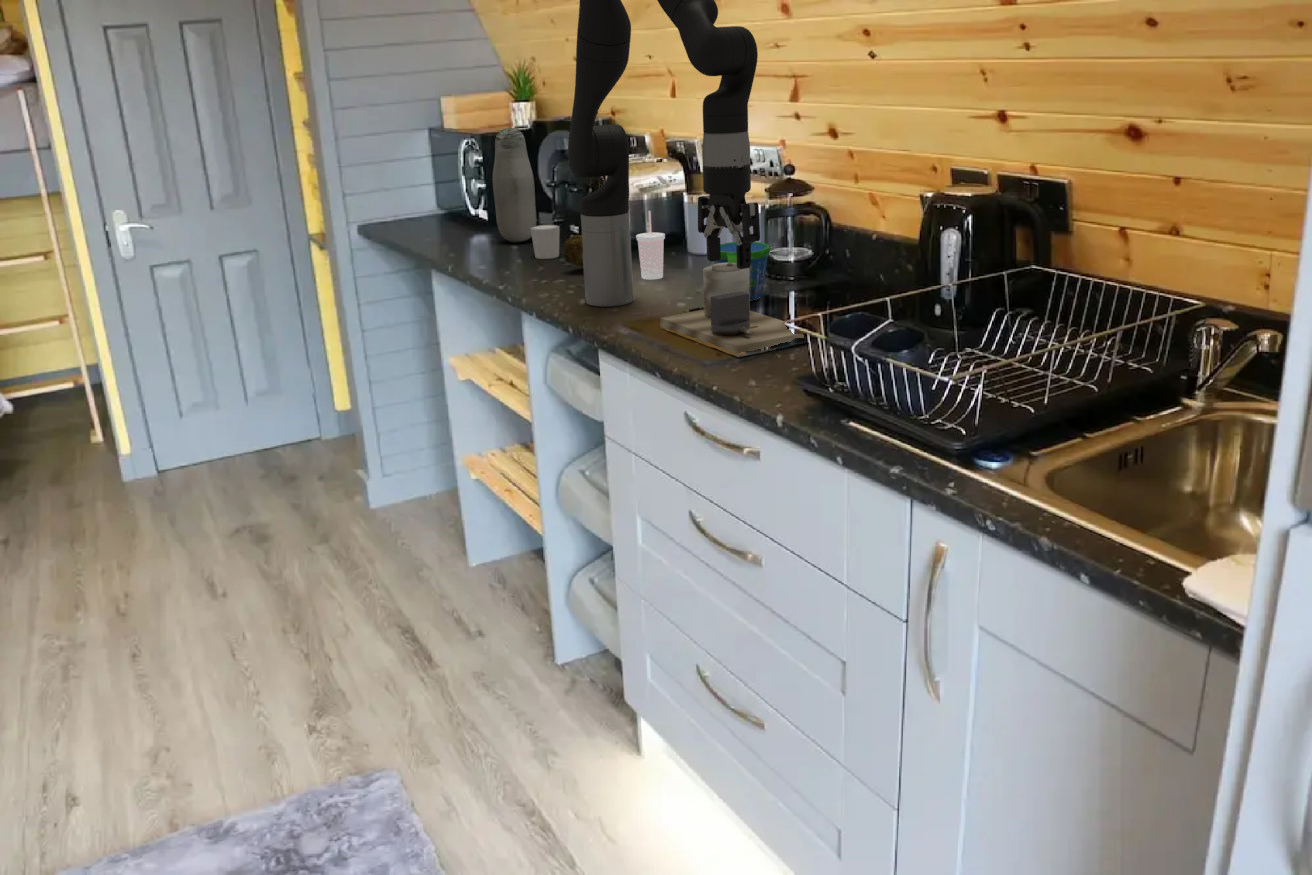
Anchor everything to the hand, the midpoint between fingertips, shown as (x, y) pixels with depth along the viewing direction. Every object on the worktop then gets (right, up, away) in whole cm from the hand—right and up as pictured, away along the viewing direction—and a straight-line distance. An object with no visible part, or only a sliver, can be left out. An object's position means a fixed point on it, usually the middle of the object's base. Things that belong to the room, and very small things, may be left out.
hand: (728, 264), depth 180 cm
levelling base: (+2, -11, +10) cm, 14 cm away
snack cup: (+5, -2, +35) cm, 35 cm away
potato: (-26, +9, +67) cm, 72 cm away
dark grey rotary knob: (+1, -11, +3) cm, 11 cm away
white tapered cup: (-38, +15, +83) cm, 93 cm away
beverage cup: (-13, +6, +57) cm, 58 cm away
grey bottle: (-47, +22, +104) cm, 116 cm away
